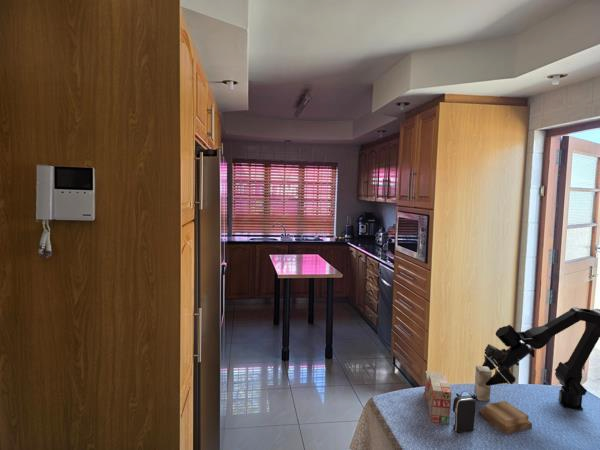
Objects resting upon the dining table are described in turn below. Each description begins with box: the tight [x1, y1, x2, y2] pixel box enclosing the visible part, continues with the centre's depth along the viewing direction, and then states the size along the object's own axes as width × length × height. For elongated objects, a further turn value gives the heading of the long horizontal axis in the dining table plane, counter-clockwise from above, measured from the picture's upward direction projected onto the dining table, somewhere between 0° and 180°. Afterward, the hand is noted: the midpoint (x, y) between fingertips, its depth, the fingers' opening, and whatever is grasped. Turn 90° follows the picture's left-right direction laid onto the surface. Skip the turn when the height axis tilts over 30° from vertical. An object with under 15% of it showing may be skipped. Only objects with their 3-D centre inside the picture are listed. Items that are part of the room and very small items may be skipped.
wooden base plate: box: [478, 409, 533, 435], centre depth 141 cm, size 12×12×2 cm
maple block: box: [483, 400, 530, 427], centre depth 140 cm, size 10×10×2 cm
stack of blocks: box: [424, 370, 453, 425], centre depth 148 cm, size 21×6×12 cm, turn 169°
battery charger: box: [452, 395, 477, 433], centre depth 135 cm, size 7×4×11 cm, turn 103°
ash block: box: [473, 365, 493, 402], centre depth 156 cm, size 4×4×12 cm
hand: (482, 379), depth 156 cm, fingers open, 9 cm apart
